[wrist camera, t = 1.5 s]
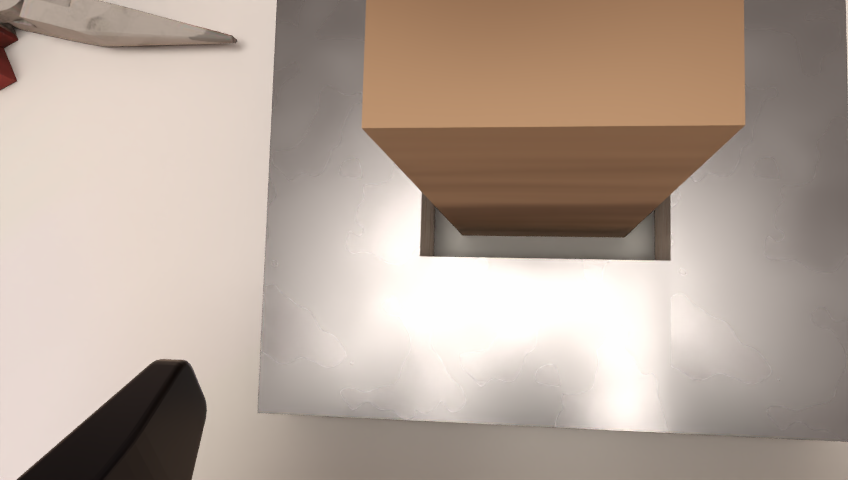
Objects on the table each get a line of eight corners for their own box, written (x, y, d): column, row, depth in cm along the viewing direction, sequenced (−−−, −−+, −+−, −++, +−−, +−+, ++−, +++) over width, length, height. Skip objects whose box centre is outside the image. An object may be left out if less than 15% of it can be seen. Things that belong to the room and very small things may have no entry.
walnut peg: (624, 237, 21) (744, 124, 9) (462, 235, 22) (361, 128, 9) (624, 78, 21) (740, -243, 9) (466, 81, 22) (373, -216, 10)
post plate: (816, 426, 20) (855, 442, 17) (289, 402, 22) (257, 412, 19) (806, -97, 21) (841, -151, 19) (309, -73, 23) (282, -119, 21)
